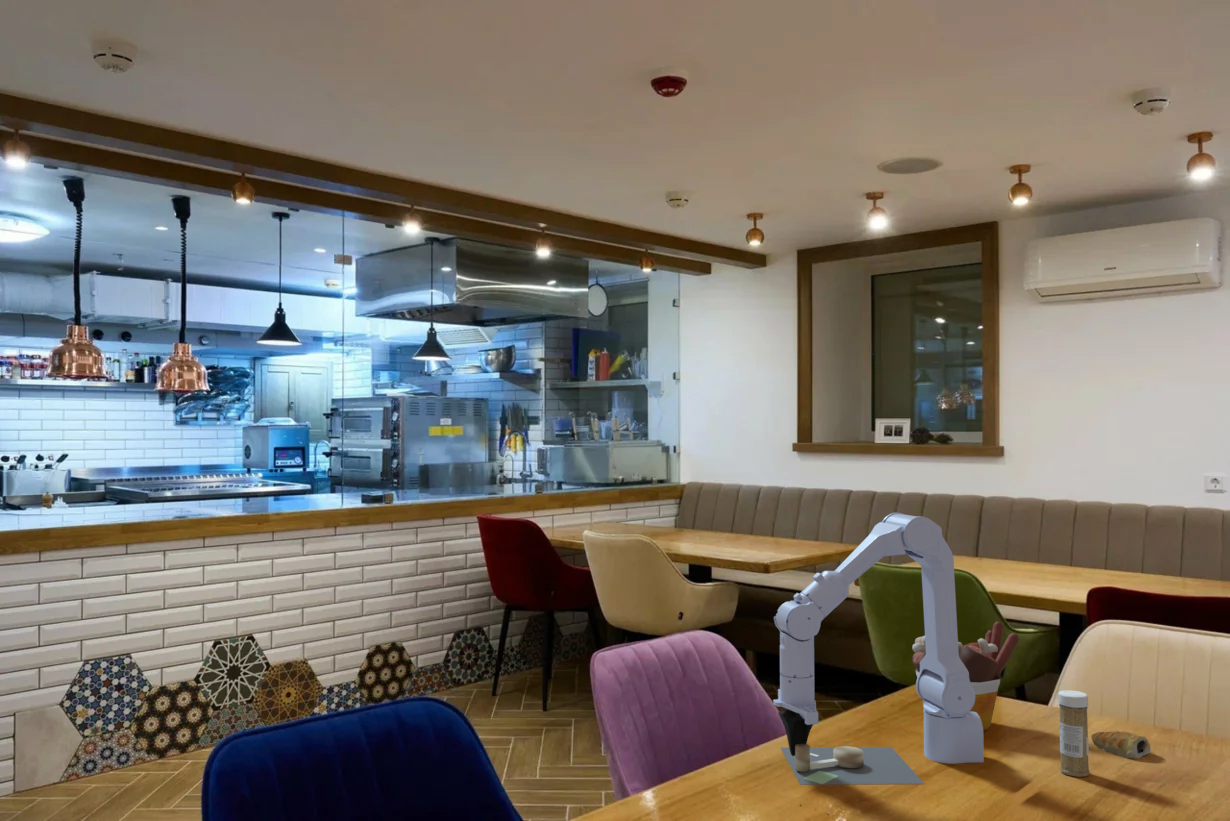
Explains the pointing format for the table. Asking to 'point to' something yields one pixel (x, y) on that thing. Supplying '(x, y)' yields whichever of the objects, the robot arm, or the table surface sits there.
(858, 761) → the crank handle
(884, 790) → the table surface
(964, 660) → the bucket of meat
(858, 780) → the dial board
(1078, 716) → the spice jar
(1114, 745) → the pastry
